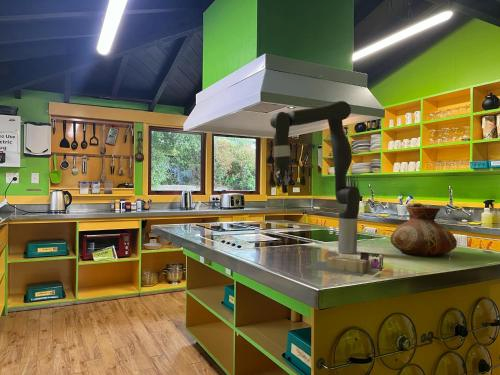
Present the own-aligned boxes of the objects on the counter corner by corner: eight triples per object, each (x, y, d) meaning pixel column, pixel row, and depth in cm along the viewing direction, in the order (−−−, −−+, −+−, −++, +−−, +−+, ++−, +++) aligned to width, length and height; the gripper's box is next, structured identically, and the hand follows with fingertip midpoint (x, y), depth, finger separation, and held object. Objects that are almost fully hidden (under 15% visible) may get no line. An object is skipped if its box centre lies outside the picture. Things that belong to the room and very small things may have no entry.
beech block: (333, 255, 154) (369, 260, 146) (333, 265, 154) (369, 270, 146) (327, 258, 149) (365, 263, 141) (327, 268, 149) (364, 273, 141)
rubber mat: (319, 262, 163) (319, 261, 163) (374, 270, 150) (374, 268, 150) (303, 269, 150) (303, 267, 150) (361, 278, 137) (361, 276, 137)
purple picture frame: (360, 251, 154) (383, 253, 150) (363, 254, 159) (385, 256, 154) (358, 267, 153) (381, 270, 148) (361, 269, 157) (384, 272, 152)
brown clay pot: (470, 257, 179) (471, 205, 179) (419, 261, 170) (420, 205, 170) (423, 247, 208) (424, 202, 208) (377, 249, 199) (378, 202, 198)
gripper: (282, 155, 167) (285, 193, 167) (296, 155, 178) (299, 191, 178) (267, 156, 171) (270, 194, 172) (282, 156, 182) (285, 192, 183)
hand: (285, 193), depth 175 cm, fingers closed
